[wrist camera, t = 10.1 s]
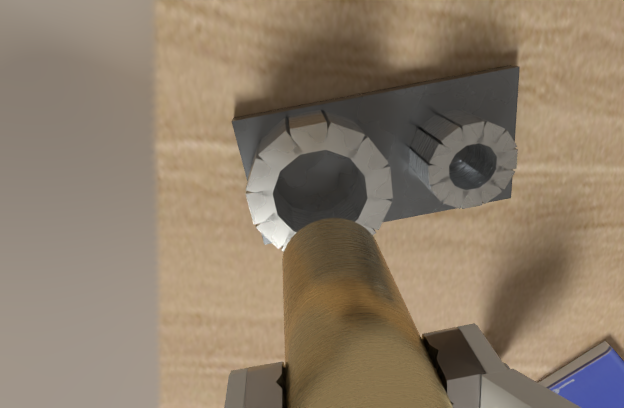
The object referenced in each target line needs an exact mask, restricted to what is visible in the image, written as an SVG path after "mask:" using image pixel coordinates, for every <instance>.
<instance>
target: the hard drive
mask: <svg viewBox="0 0 624 408" xmlns="http://www.w3.org/2000/svg"><path fill="white" fill-rule="evenodd" d="M539 384H541V385H543V386H544V387H546V388H548V389H550V390H551V391H553V392H555V393H557V394H558V395H560V396H562V397H564V398H565V399H567V400H569V401H571V402H572V403H574V404H576V405H578V406H579V407H581V408H624V361H623V360H622V359H621V358H620V356H619V355H618V354H617V353H616V352H615V350H614V349H613V348H612V347H611V346H610V345H609V344H608V343H607V342H606V341H604V342H602V343H600V344H599V345H597V346H596V347H594V348H593V349H591V350H589V351H588V352H586V353H585V354H583V355H581V356H580V357H578V358H577V359H575V360H574V361H572V362H570V363H569V364H567V365H566V366H564V367H562V368H561V369H559V370H558V371H556V372H555V373H553V374H551V375H550V376H548V377H547V378H545V379H543V380H542V381H540V382H539Z"/></svg>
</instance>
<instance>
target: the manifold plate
mask: <svg viewBox="0 0 624 408" xmlns="http://www.w3.org/2000/svg"><path fill="white" fill-rule="evenodd" d="M518 81H519V67H518V66H511V65H510V66H505V67H499V68H494V69H489V70H483V71H478V72H473V73H468V74H462V75H457V76H452V77H447V78H441V79H436V80H431V81H426V82H420V83H415V84H410V85H405V86H399V87H394V88H389V89H384V90H378V91H373V92H368V93H362V94H357V95H352V96H347V97H341V98H336V99H331V100H326V101H320V102H315V103H310V104H305V105H299V106H294V107H289V108H284V109H278V110H273V111H268V112H263V113H257V114H252V115H247V116H241V117H236V118H233V120H232V124H233V128H234V132H235V136H236V139H237V143H238V147H239V151H240V155H241V158H242V162H243V166H244V170H245V173H246V177H247V181H248V182H247V186H246V197H247V201H248V205H249V208H250V212H251V216H252V219H253V223H254V224H256V228H257V229H258V230H259V231H260V232H261V234H262V237H263V241H264V245H265V244H270V243H273V244H274V245H275V246H276V247H277V248H278V249H279V248H280V247H281V246H282V251H285V248H286V246H287V244H288V242H289V241H290V239H291V238H292V237H293V236H294V234H296V233H297V232H298V231H299V230H300V229H302V228H303V227H305V226H306V225H308V224H310V223H312V222H315V221H318V220H322V219H328V218H342V219H347V220H351V221H354V222H356V223H358V224H360V225H362V226H363V227H365V228H366V229H367V230H368V231H369V232H370V233H371V234H372V235H374V234H375V233H376V232H375V230H374V229H377V230H379V228H380V226H381V224H382V222H386V221H392V220H397V219H402V218H408V217H413V216H418V215H423V214H429V213H434V212H439V211H445V210H450V209H455V208H459V209H460V208H462V209H464V208H470V207H475V206H480V205H482V203H484V204H485V203H487V202H492V201H498V200H503V199H508V198H511V190H512V176H513V175H514V173H515V171H513V169H516V165H517V151H518V149H516V148H515V147H517V146H516V144H515V128H516V112H517V97H518Z"/></svg>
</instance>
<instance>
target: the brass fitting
mask: <svg viewBox="0 0 624 408" xmlns="http://www.w3.org/2000/svg"><path fill="white" fill-rule="evenodd" d="M283 298H284V335H285V371H286V407H287V408H453V406H452V403H451V401H450V399H449V397H448V395H447V393H446V391H445V388H444V386H443V384H442V382H441V380H440V378H439V375H438V373H437V371H436V369H435V367H434V365H433V363H432V360H431V358H430V356H429V354H428V352H427V350H426V348H425V345H424V343H423V341H422V339H421V337H420V335H419V332H418V330H417V328H416V326H415V324H414V322H413V320H412V317H411V315H410V313H409V311H408V309H407V307H406V304H405V302H404V300H403V298H402V296H401V294H400V292H399V289H398V287H397V285H396V283H395V281H394V279H393V277H392V274H391V272H390V270H389V268H388V266H387V264H386V261H385V259H384V257H383V255H382V253H381V251H380V249H379V246H378V244H377V242H376V240H375V238H374V237H373V235H372V234H371V233H370V232H369V231H368V230H367V229H366V228H365V227H363V226H362V225H360V224H358V223H356V222H354V221H351V220H347V219H342V218H328V219H322V220H318V221H315V222H312V223H310V224H308V225H306V226H305V227H303V228H302V229H300V230H299V231H298V232H297V233H296V234H294V236H293V237H292V238H291V239H290V241H289V242H288V244H287V246H286V248H285V251H284V254H283Z"/></svg>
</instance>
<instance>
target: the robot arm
mask: <svg viewBox="0 0 624 408" xmlns="http://www.w3.org/2000/svg"><path fill="white" fill-rule="evenodd" d="M422 341H423V343H424V345H425V348H426V350H427V352H428V354H429V356H430V358H431V360H432V363H433V365H434V367H435V369H436V371H437V373H438V375H439V378H440V380H441V382H442V384H443V386H444V388H445V391H446V393H447V395H448V397H449V399H450V401H451V403H452V406H453V408H581V407H579V406H578V405H576V404H574V403H572V402H571V401H569V400H567V399H565V398H564V397H562V396H560V395H558V394H557V393H555V392H553V391H551V390H550V389H548V388H546V387H544V386H543V385H541V384H539V383H537V382H536V381H534V380H532V379H530V378H528V377H527V376H525V375H523V374H521V373H520V372H518V371H516V370H514V369H507V368H506V366H505V365H504V364H503V362H502V361H501V359H500V358H499V356H498V355H497V353H496V352H495V350H494V349H493V348H492V346H491V345H490V343H489V342H488V340H487V339H486V337H485V336H484V334H483V333H482V332H481V330H480V329H479V327H478V326H477V325H476V324H469V325H464V326H459V327H453V328H449V329H444V330H439V331H434V332H429V333H424V334H422ZM224 408H287V407H286V371H285V365H284V362H278V363H272V364H266V365H260V366H254V367H249V368H244V369H238V370H233V371H231V373H230V375H229V379H228V386H227V393H226V400H225V407H224Z"/></svg>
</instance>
